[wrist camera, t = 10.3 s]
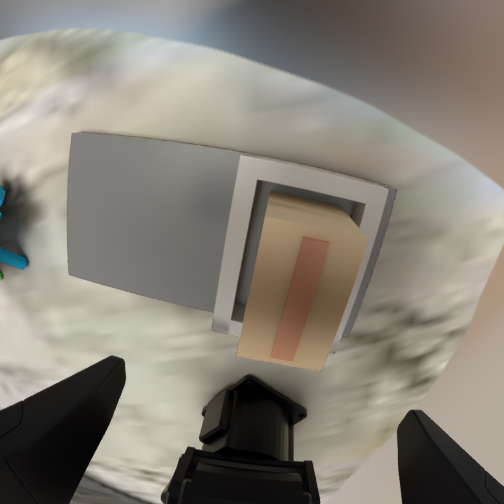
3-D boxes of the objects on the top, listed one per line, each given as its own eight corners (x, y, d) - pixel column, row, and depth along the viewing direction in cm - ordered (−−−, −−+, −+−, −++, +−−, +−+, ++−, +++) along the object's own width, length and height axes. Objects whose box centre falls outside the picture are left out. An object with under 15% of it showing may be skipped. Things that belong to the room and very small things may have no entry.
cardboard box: (311, 307, 20) (321, 373, 14) (248, 295, 20) (235, 358, 14) (340, 206, 17) (369, 240, 11) (270, 190, 17) (264, 217, 11)
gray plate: (391, 186, 18) (410, 195, 15) (345, 329, 21) (353, 355, 18) (80, 132, 18) (53, 134, 15) (75, 269, 21) (53, 286, 18)
